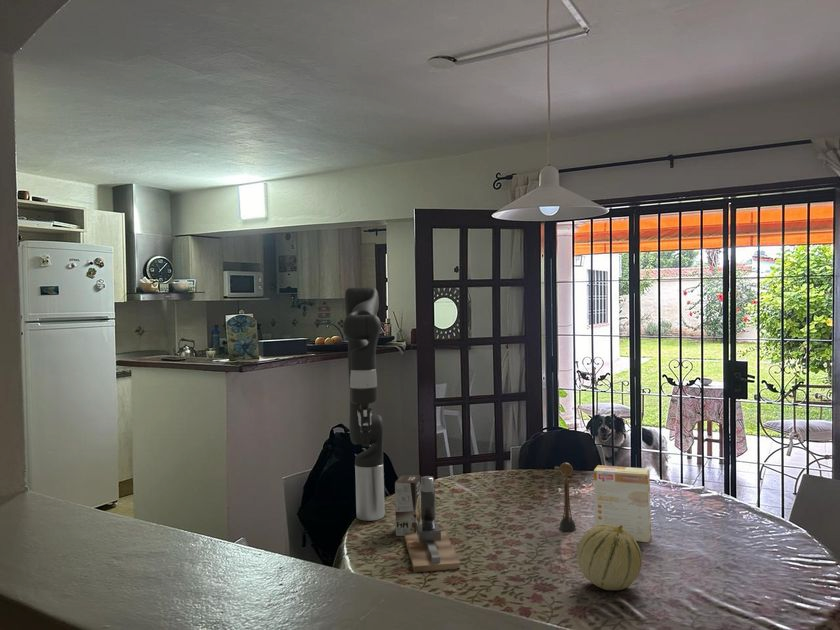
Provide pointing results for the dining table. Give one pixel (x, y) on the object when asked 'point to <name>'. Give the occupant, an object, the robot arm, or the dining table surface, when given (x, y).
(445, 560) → the press bench
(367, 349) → the robot arm
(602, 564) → the cantaloupe
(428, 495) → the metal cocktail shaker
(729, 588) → the dining table surface
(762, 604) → the dining table surface
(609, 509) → the coffeecake box
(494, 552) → the dining table surface
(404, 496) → the coffee box
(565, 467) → the wooden tabletop sculpture
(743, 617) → the dining table surface
